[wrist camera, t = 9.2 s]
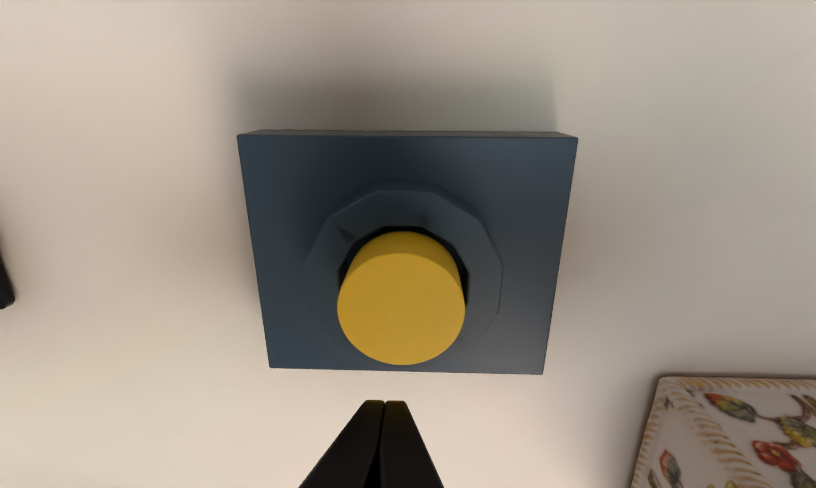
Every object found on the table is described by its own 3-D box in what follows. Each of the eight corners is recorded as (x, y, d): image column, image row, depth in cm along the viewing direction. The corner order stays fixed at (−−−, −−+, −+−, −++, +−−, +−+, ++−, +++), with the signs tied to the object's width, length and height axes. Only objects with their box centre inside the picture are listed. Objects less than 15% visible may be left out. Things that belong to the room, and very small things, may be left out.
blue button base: (284, 340, 20) (252, 397, 16) (259, 129, 16) (209, 139, 12) (530, 345, 19) (556, 406, 15) (558, 131, 16) (601, 142, 12)
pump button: (350, 329, 15) (340, 363, 13) (345, 229, 14) (332, 251, 12) (456, 332, 15) (461, 367, 13) (462, 231, 13) (469, 253, 12)
